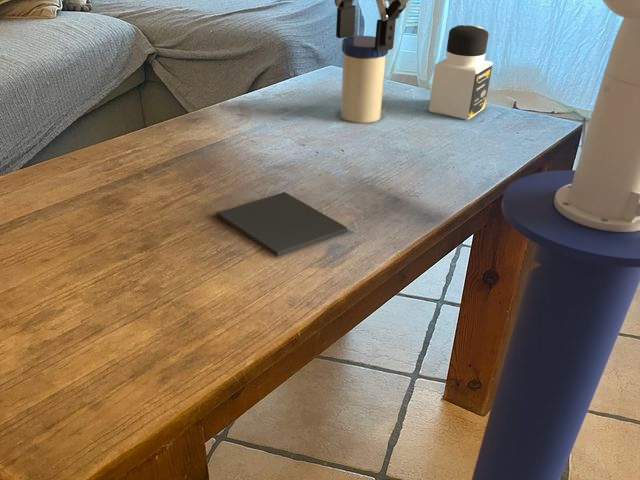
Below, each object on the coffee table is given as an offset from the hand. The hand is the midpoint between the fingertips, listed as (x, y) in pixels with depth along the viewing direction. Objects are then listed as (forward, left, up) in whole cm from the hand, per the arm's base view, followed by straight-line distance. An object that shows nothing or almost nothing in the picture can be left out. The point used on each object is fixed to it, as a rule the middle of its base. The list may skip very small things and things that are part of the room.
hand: (363, 42), depth 99 cm
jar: (0, 0, -10) cm, 10 cm away
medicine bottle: (-7, -15, -10) cm, 20 cm away
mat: (-23, +33, -10) cm, 42 cm away
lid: (0, 0, 0) cm, 0 cm away
